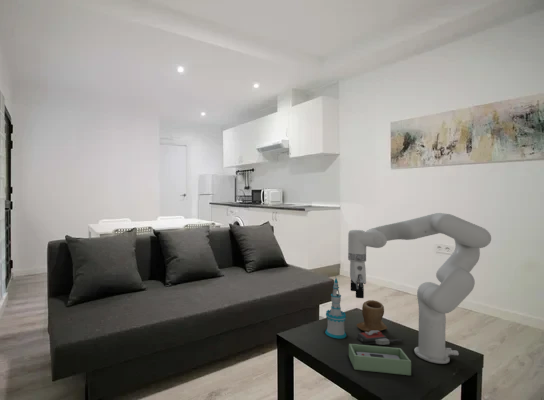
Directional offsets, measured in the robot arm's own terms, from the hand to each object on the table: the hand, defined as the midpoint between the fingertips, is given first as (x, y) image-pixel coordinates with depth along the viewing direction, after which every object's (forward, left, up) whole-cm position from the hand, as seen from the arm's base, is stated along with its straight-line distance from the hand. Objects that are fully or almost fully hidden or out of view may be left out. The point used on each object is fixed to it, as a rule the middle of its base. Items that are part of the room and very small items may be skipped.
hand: (356, 294), depth 135 cm
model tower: (+7, -12, -24) cm, 28 cm away
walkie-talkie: (-12, -8, -24) cm, 28 cm away
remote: (-5, +14, -24) cm, 28 cm away
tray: (-5, +14, -24) cm, 28 cm away
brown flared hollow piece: (-13, -20, -24) cm, 34 cm away
